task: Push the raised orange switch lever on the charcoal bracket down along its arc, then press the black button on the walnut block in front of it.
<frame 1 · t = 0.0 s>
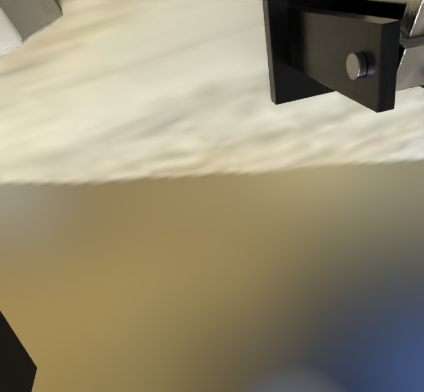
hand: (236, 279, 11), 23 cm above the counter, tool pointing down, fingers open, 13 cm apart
switch bracket: (313, 30, 31), on the counter
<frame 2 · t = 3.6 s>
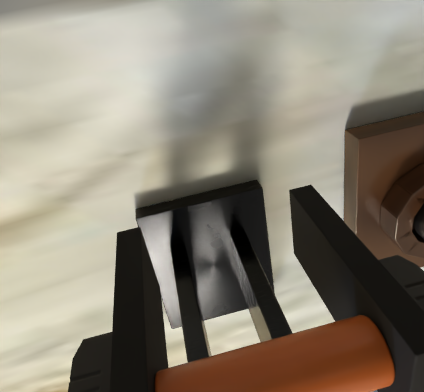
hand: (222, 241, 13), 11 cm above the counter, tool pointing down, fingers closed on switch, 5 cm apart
switch bracket: (210, 253, 27), on the counter
button block: (408, 191, 28), on the counter
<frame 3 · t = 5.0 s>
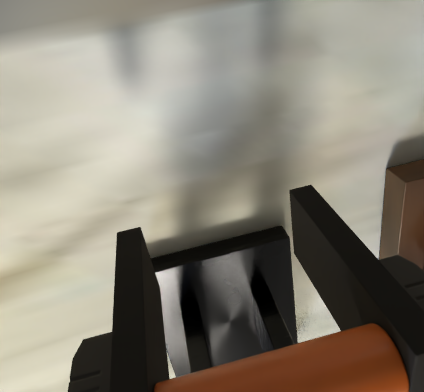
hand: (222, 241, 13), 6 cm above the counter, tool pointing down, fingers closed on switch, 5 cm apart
switch bracket: (225, 306, 23), on the counter
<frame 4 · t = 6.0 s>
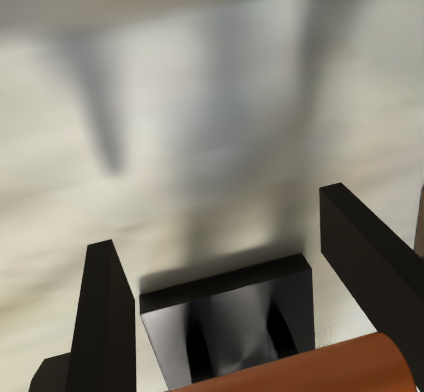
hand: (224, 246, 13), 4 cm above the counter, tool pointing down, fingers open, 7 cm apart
switch bracket: (235, 341, 21), on the counter
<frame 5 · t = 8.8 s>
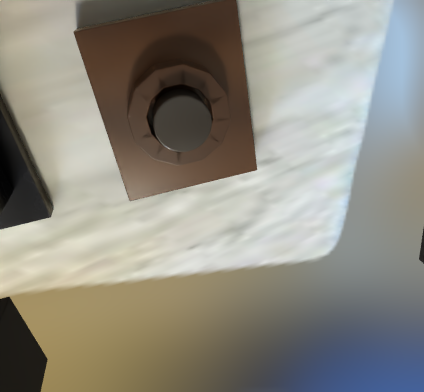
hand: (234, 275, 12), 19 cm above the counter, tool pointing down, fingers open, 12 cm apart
button block: (174, 103, 28), on the counter
button: (181, 120, 24), point 4 cm above the counter, slide at 0.1 cm
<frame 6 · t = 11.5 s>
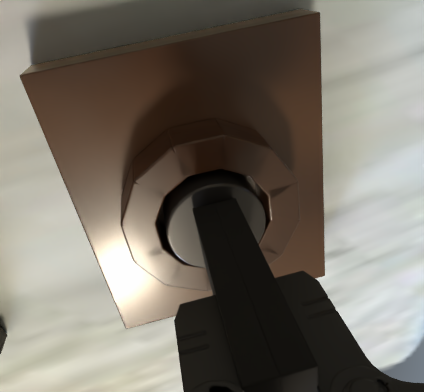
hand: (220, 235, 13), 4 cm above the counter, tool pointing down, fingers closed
button block: (199, 179, 17), on the counter
button: (212, 216, 14), point 3 cm above the counter, slide at -0.8 cm, touching gripper
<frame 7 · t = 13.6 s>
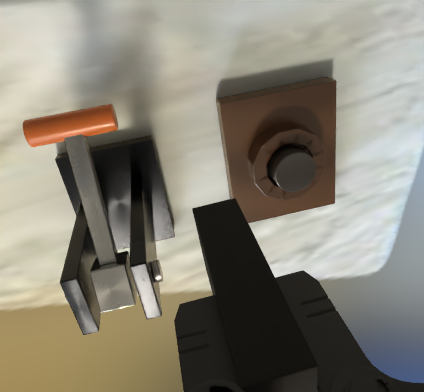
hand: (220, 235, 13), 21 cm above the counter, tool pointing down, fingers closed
switch: (95, 211, 23), point 11 cm above the counter, hinge at -15.8°
switch bracket: (120, 195, 35), on the counter
button block: (276, 151, 36), on the counter
button: (292, 168, 32), point 4 cm above the counter, slide at 0.1 cm
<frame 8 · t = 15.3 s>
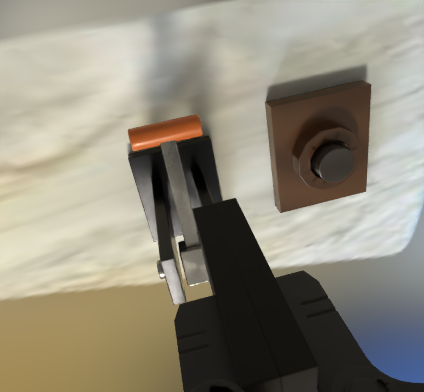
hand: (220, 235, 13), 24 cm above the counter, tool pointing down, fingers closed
switch: (182, 203, 28), point 11 cm above the counter, hinge at -15.8°
switch bracket: (179, 188, 40), on the counter
button block: (315, 146, 40), on the counter
button: (332, 162, 37), point 4 cm above the counter, slide at 0.1 cm
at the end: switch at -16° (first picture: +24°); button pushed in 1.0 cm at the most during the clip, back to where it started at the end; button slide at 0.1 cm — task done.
